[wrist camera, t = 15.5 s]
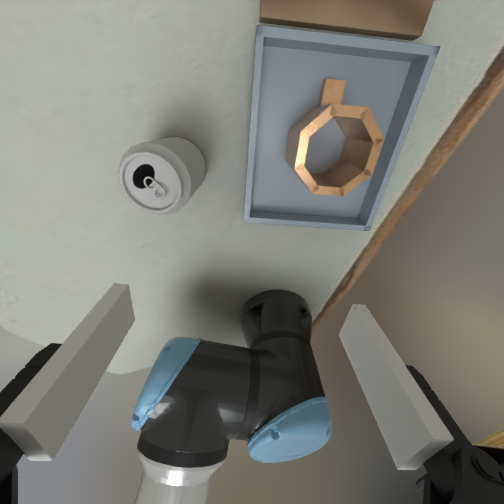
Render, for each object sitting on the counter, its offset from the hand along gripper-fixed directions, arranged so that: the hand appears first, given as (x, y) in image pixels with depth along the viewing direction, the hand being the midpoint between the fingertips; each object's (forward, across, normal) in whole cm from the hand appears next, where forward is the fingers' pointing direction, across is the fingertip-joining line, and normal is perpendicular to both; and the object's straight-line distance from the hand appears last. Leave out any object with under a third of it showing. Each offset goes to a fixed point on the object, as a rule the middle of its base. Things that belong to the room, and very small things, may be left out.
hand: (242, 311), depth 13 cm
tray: (+25, -9, -8) cm, 28 cm away
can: (+25, +10, -4) cm, 27 cm away
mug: (+24, -9, -10) cm, 28 cm away
